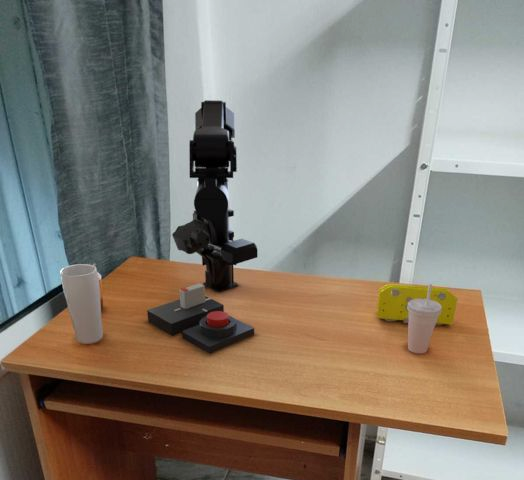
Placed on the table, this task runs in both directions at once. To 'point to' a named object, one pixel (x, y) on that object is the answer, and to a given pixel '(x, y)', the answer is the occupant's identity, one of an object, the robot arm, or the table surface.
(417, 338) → the smoothie
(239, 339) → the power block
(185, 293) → the grey block red tip
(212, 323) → the power button
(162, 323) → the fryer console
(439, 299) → the yellow toy chassis
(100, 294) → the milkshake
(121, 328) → the table surface
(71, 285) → the drinking glass
